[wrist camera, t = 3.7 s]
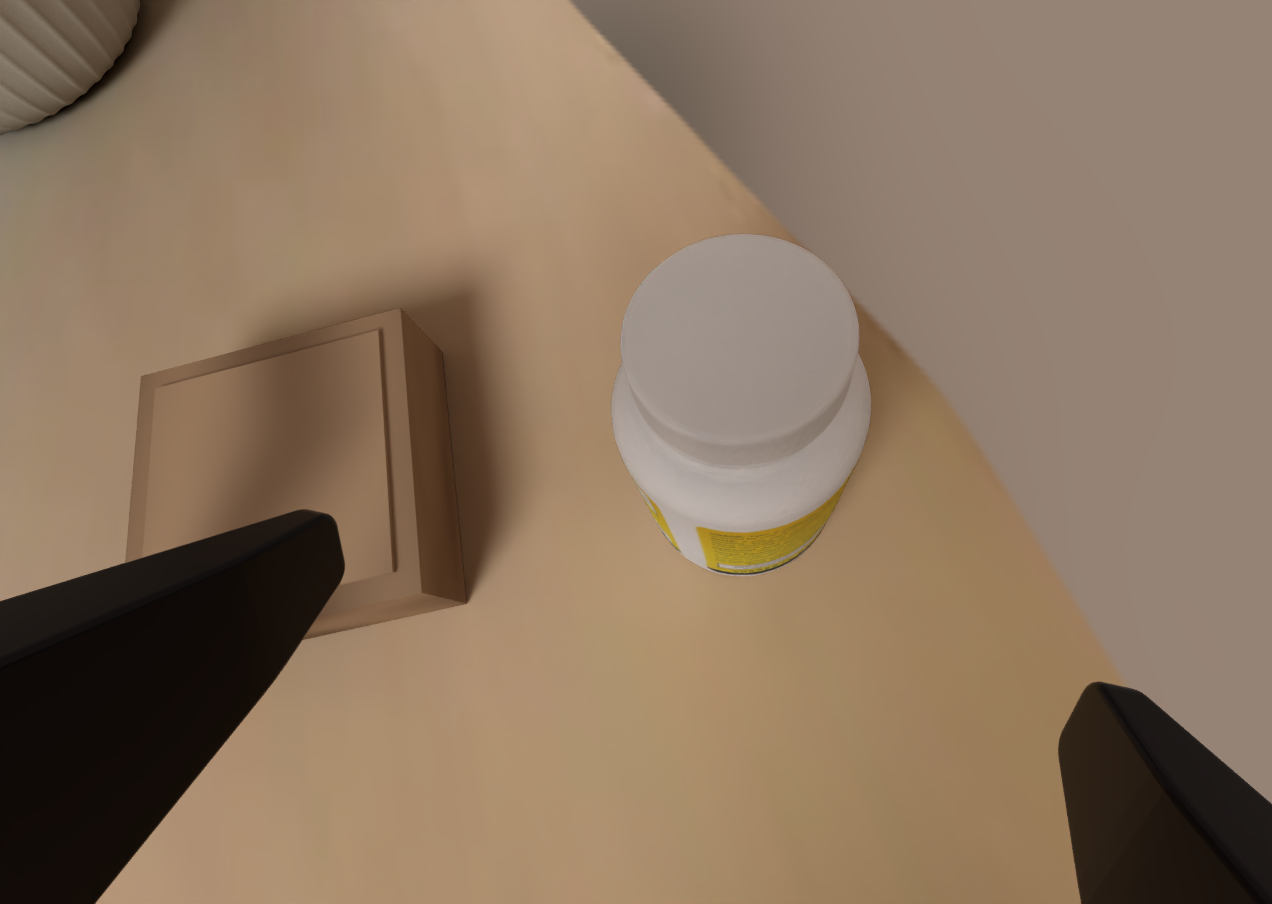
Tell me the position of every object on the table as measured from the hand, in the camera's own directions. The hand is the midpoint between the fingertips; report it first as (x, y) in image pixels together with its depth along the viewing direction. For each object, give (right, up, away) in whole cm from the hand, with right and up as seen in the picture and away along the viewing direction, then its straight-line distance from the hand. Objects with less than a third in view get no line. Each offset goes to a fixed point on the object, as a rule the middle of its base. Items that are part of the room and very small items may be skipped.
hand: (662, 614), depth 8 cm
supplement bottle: (+3, +1, +12) cm, 13 cm away
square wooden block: (-11, 0, +14) cm, 18 cm away
